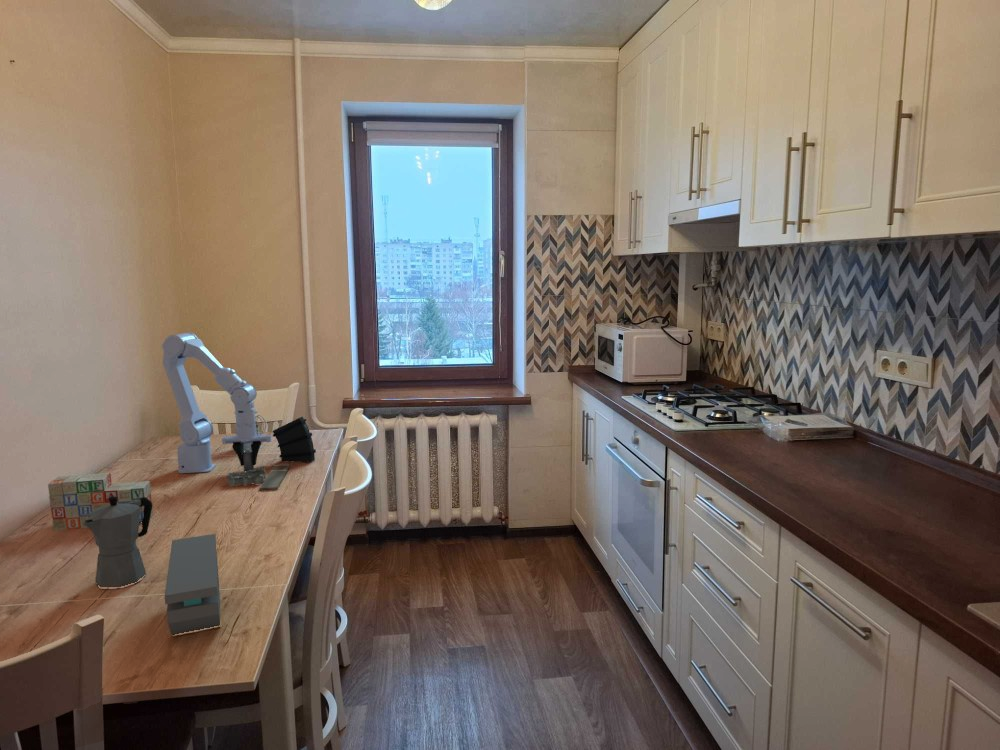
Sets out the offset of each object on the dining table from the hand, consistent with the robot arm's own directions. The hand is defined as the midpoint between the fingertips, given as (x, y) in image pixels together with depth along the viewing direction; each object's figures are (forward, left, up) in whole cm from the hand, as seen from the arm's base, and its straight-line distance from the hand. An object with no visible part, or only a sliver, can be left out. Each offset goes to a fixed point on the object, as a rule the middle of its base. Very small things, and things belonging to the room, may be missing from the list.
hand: (248, 464), depth 215 cm
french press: (-5, +28, -2) cm, 29 cm away
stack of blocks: (-27, -41, -2) cm, 49 cm away
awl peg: (0, 0, -2) cm, 2 cm away
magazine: (+13, +9, -2) cm, 16 cm away
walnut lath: (+10, -10, -2) cm, 14 cm away
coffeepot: (-9, -76, -2) cm, 77 cm away
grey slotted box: (+10, -95, -2) cm, 96 cm away
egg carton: (+2, -13, -2) cm, 13 cm away
